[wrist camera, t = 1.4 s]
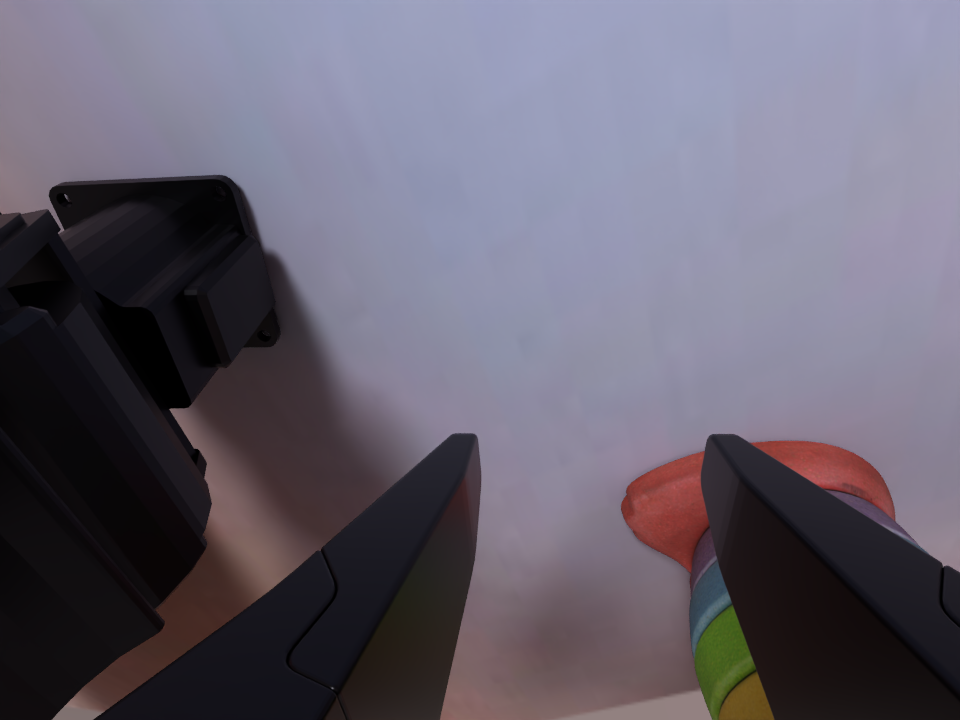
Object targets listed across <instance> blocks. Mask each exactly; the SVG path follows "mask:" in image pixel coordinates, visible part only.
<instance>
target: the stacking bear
mask: <svg viewBox="0 0 960 720" xmlns="http://www.w3.org/2000/svg"><path fill="white" fill-rule="evenodd" d="M751 444H752V445H754V446H755V447H757V448H759V449H760V450H762V451H763V452H765V453H767V454H768V455H770V456H771V457H773V458H775V459H776V460H778V461H780V462H781V463H783V464H784V465H786V466H788V467H789V468H791V469H792V470H794V471H796V472H797V473H799V474H800V475H802V476H804V477H805V478H807V479H808V480H810V481H812V482H813V483H815V484H816V485H818V486H820V487H821V488H823V489H824V490H826V491H828V492H829V493H831V494H832V495H834V496H836V497H837V498H839V499H841V500H842V501H844V502H845V503H847V504H849V505H850V506H852V507H853V508H855V509H857V510H858V511H860V512H861V513H863V514H865V515H866V516H868V517H869V518H871V519H873V520H874V521H876V522H877V523H879V524H881V525H882V526H884V527H885V528H887V529H889V530H890V531H892V532H893V533H895V534H897V535H898V536H900V537H901V538H903V539H905V540H906V541H908V542H910V543H911V544H913V545H914V546H916V547H918V548H919V549H921V550H922V551H924V552H926V551H925V550H924V549H922V548H921V547H920V546H919V545H918V544H917V543H916V542H915V540H914V539H913V538H912V537H911V536H910V535H909V534H908V533H907V532H906V531H905V530H904V529H903V528H902V527H901V526H900V525H898V524H897V523H896V522H895V510H894V505H893V501H892V498H891V495H890V492H889V490H888V487H887V485H886V483H885V481H884V480H883V478H882V477H881V475H880V474H879V472H878V471H877V470H876V469H875V468H874V467H873V466H872V465H871V464H869V463H868V462H867V461H865V460H864V459H863V458H861V457H859V456H858V455H856V454H854V453H852V452H849V451H847V450H844V449H842V448H839V447H836V446H832V445H828V444H823V443H817V442H808V441H768V442H756V443H751ZM704 453H705V451H703V452H700V453H696V454H692V455H690V456H687V457H684V458H681V459H678V460H675V461H673V462H670V463H668V464H665V465H663V466H660V467H658V468H656V469H654V470H652V471H650V472H648V473H646V474H644V475H642V476H640V477H639V478H637V479H636V480H635V481H633V482H632V483H631V484H630V485H629V486H628V487H627V490H626V493H627V495H626V497H625V498H624V500H623V501H622V503H621V510H622V514H623V517H624V519H625V521H626V523H627V525H628V526H629V527H630V528H631V529H632V530H633V532H634V534H635V536H636V537H637V538H638V539H639V540H640V541H642V542H643V543H645V544H646V545H648V546H650V547H651V548H653V549H655V550H657V551H659V552H661V553H663V554H665V555H667V556H669V557H671V558H672V559H674V560H676V561H677V562H679V563H680V564H681V565H682V566H683V567H685V568H686V569H687V570H688V571H689V572H690V573H691V577H690V588H691V601H690V609H689V617H690V635H691V646H692V653H693V657H694V661H695V671H696V674H697V678H698V681H699V684H700V687H701V691H702V694H703V696H704V699H705V702H706V704H707V707H708V710H709V712H710V715H711V717H712V720H774V717H773V714H772V711H771V709H770V706H769V703H768V701H767V698H766V695H765V692H764V690H763V687H762V684H761V681H760V679H759V676H758V673H757V670H756V668H755V665H754V662H753V660H752V657H751V654H750V651H749V649H748V646H747V643H746V640H745V638H744V635H743V632H742V629H741V627H740V624H739V621H738V619H737V616H736V613H735V610H734V608H733V605H732V602H731V599H730V597H729V594H728V591H727V588H726V586H725V583H724V580H723V577H722V574H721V571H720V568H719V565H718V561H717V557H716V553H715V548H714V544H713V539H712V534H711V530H710V525H709V521H708V516H707V512H706V507H705V503H704V498H703V494H702V489H701V469H702V463H703V458H704ZM926 553H927V552H926ZM927 554H928V553H927Z"/></svg>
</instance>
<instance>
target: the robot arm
mask: <svg viewBox="0 0 960 720" xmlns="http://www.w3.org/2000/svg"><path fill="white" fill-rule="evenodd" d="M216 186H218V187H221V188H222V189H223V190H224V191H225V193H226V197H222V196H221V195H219V194H218V192H217V190H216ZM64 194H66V195H67V196H69V198H70V199H71V201H72V203H70V202H69V201H68V200H67V199H66V198H65V196H64ZM49 197H50V201H51V203H52V205H53V207H54V209H55V211H56V213H57V215H58V218H59V220H60V222H61V224H62V226H63V228H64V231H63V232H61V233H60V234H58V232H59V231H60V230H61V229H60V228H59V226H58V224H57V223H56V221H55V220H54V218H53V216H52V215H51V213H50V212H49V210H48V209H46V210H40V211H35V212H30V213H25V214H20V213H11V214H3V215H2V214H1V213H0V720H52V719H53V718H54V717H55V715H56V714H57V713H58V712H59V711H60V710H61V709H62V708H63V707H64V706H65V705H66V704H67V703H68V702H69V701H70V700H71V699H72V698H73V697H74V696H75V695H76V694H77V693H78V692H79V691H80V690H81V689H82V688H83V687H84V686H85V685H86V684H87V683H88V682H90V681H91V680H92V679H93V678H94V677H96V676H97V675H98V674H99V673H101V672H102V671H103V670H104V669H105V668H107V667H108V666H109V665H110V664H111V663H113V662H114V661H115V660H116V659H118V658H119V657H120V656H122V655H123V654H125V653H127V652H128V651H130V650H132V649H133V648H135V647H136V646H138V645H140V644H141V643H143V642H144V641H146V640H148V639H149V638H151V637H153V636H154V635H156V634H157V633H159V632H160V631H161V630H162V628H163V627H164V624H165V621H164V620H163V619H162V618H161V617H160V615H159V614H158V613H157V612H156V611H155V610H156V609H157V608H158V607H160V606H161V605H162V604H163V603H164V602H165V601H166V599H167V598H168V597H169V596H170V595H171V594H172V593H173V592H174V591H175V590H176V588H177V587H178V586H179V585H180V584H181V583H182V582H183V581H184V580H185V579H186V577H187V576H188V575H189V574H190V573H191V571H192V569H193V568H194V566H195V565H196V563H197V562H198V560H199V559H200V557H201V555H202V554H203V552H204V551H205V549H206V546H207V541H206V539H205V537H204V536H203V533H204V531H205V528H206V525H207V521H208V517H209V513H210V509H211V505H212V502H211V497H210V493H209V488H208V484H207V482H206V481H205V479H204V476H205V471H206V465H207V462H206V460H205V459H204V457H203V456H202V454H201V452H200V451H199V450H198V449H194V448H193V446H192V445H191V443H190V442H189V440H188V438H187V437H186V435H185V434H184V432H183V431H182V429H181V427H180V426H179V424H178V423H177V421H176V419H175V418H174V416H173V415H172V413H171V412H170V410H169V409H171V408H188V407H189V406H190V405H191V404H192V402H193V401H194V400H195V399H196V397H197V396H198V395H199V393H200V392H201V391H202V389H203V388H204V387H205V385H206V384H207V383H208V381H209V380H210V379H211V377H212V376H213V375H214V373H215V372H216V371H217V369H218V368H227V367H228V366H229V365H230V364H231V363H232V361H233V360H234V359H235V357H236V356H237V355H238V353H239V352H240V351H241V349H242V348H243V347H271V346H273V345H274V344H276V342H277V341H278V339H279V337H280V335H281V332H280V327H279V324H278V321H277V317H276V314H275V311H274V307H273V306H274V304H275V302H276V301H275V297H274V293H273V290H272V287H271V283H270V280H269V277H268V273H267V270H266V266H265V263H264V260H263V256H262V253H261V249H260V246H259V243H258V241H257V240H256V239H255V238H254V237H253V236H252V234H251V231H250V227H249V224H248V221H247V217H246V214H245V210H244V207H243V204H242V200H241V197H240V194H239V190H238V188H237V186H236V184H235V183H234V182H233V181H232V180H231V179H230V178H228V177H226V176H223V175H207V176H186V177H164V178H142V179H120V180H99V181H77V182H63V183H60V184H58V185H56V186H54V187H52V189H51V190H50V192H49ZM261 330H263V331H266V332H268V333H269V334H270V336H266V335H265V334H263V332H262V331H261ZM701 489H702V494H703V498H704V503H705V507H706V512H707V516H708V521H709V525H710V530H711V534H712V539H713V544H714V548H715V553H716V557H717V561H718V565H719V568H720V571H721V574H722V577H723V580H724V583H725V586H726V588H727V591H728V594H729V597H730V599H731V602H732V605H733V608H734V610H735V613H736V616H737V619H738V621H739V624H740V627H741V629H742V632H743V635H744V638H745V640H746V643H747V646H748V649H749V651H750V654H751V657H752V660H753V662H754V665H755V668H756V670H757V673H758V676H759V679H760V681H761V684H762V687H763V690H764V692H765V695H766V698H767V701H768V703H769V706H770V709H771V711H772V714H773V717H774V720H960V573H959V572H958V571H956V570H955V569H953V568H951V567H950V566H944V567H943V565H942V563H941V562H940V561H938V560H937V559H935V558H934V557H932V556H930V555H929V554H927V553H926V552H924V551H922V550H921V549H919V548H918V547H916V546H914V545H913V544H911V543H910V542H908V541H906V540H905V539H903V538H901V537H900V536H898V535H897V534H895V533H893V532H892V531H890V530H889V529H887V528H885V527H884V526H882V525H881V524H879V523H877V522H876V521H874V520H873V519H871V518H869V517H868V516H866V515H865V514H863V513H861V512H860V511H858V510H857V509H855V508H853V507H852V506H850V505H849V504H847V503H845V502H844V501H842V500H841V499H839V498H837V497H836V496H834V495H832V494H831V493H829V492H828V491H826V490H824V489H823V488H821V487H820V486H818V485H816V484H815V483H813V482H812V481H810V480H808V479H807V478H805V477H804V476H802V475H800V474H799V473H797V472H796V471H794V470H792V469H791V468H789V467H788V466H786V465H784V464H783V463H781V462H780V461H778V460H776V459H775V458H773V457H771V456H770V455H768V454H767V453H765V452H763V451H762V450H760V449H759V448H757V447H755V446H754V445H752V444H751V443H749V442H747V441H746V440H744V439H743V438H741V437H739V436H737V435H735V434H712V435H710V436H709V437H708V439H707V442H706V447H705V453H704V458H703V463H702V469H701ZM480 493H481V466H480V455H479V445H478V438H477V436H476V435H475V434H473V433H455V434H452V435H451V436H449V437H448V438H447V439H446V440H445V441H444V442H442V443H441V444H440V445H439V446H438V447H437V448H436V449H434V450H433V451H432V452H431V453H430V454H429V455H428V456H426V457H425V458H424V459H423V460H422V461H421V462H420V463H418V464H417V465H416V466H415V467H414V468H413V469H412V470H410V471H409V472H408V473H407V474H406V475H405V476H404V477H402V478H401V479H400V480H399V481H398V482H397V483H396V484H394V485H393V486H392V487H391V488H390V489H389V490H388V491H386V492H385V493H384V494H383V495H382V496H381V497H379V498H378V499H377V500H376V501H375V502H374V503H373V504H371V505H370V506H369V507H368V508H367V509H366V510H365V511H363V512H362V513H361V514H360V515H359V516H358V517H357V518H355V519H354V520H353V521H352V522H351V523H350V524H349V525H347V526H346V527H345V528H344V529H343V530H342V531H341V532H339V533H338V534H337V535H336V536H335V537H334V538H333V539H331V540H330V541H329V542H328V543H327V544H326V545H325V546H323V547H322V549H321V551H316V552H315V553H314V554H313V555H312V556H311V557H310V558H308V559H307V560H306V561H305V562H304V563H303V564H301V565H300V566H299V567H298V568H297V569H296V570H294V571H293V572H292V573H291V574H289V575H288V576H287V577H286V578H285V579H283V580H282V581H281V582H280V583H279V584H277V585H276V586H275V587H274V588H273V589H271V590H270V591H269V592H267V593H266V594H265V595H263V596H262V597H261V598H259V599H258V600H257V601H256V602H254V603H253V604H252V605H250V606H249V607H248V608H246V609H245V610H244V611H242V612H241V613H240V614H238V615H237V616H236V617H234V618H233V619H232V620H230V621H229V622H227V623H226V624H225V625H223V626H222V627H220V628H219V629H218V630H216V631H215V632H214V633H212V634H211V635H209V636H208V637H207V638H205V639H204V640H203V641H201V642H200V643H198V644H197V645H196V646H194V647H193V648H192V649H190V650H189V651H187V652H186V653H185V654H183V655H182V656H181V657H179V658H178V659H176V660H175V661H174V662H172V663H171V664H169V665H168V666H167V667H165V668H164V669H163V670H161V671H160V672H158V673H157V674H156V675H154V676H153V677H152V678H150V679H149V680H147V681H146V682H145V683H143V684H142V685H141V686H139V687H138V688H136V689H135V690H134V691H132V692H131V693H129V694H128V695H127V696H125V697H124V698H123V699H121V700H120V701H118V702H117V703H116V704H114V705H113V706H112V707H110V708H109V709H107V710H106V711H105V712H103V713H102V714H101V715H99V716H98V717H96V718H95V719H94V720H440V715H441V711H442V706H443V702H444V697H445V693H446V688H447V684H448V679H449V675H450V670H451V666H452V661H453V657H454V652H455V648H456V644H457V639H458V635H459V630H460V626H461V621H462V617H463V612H464V608H465V603H466V599H467V594H468V590H469V585H470V581H471V576H472V571H473V566H474V561H475V553H476V543H477V530H478V518H479V505H480Z"/></svg>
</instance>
